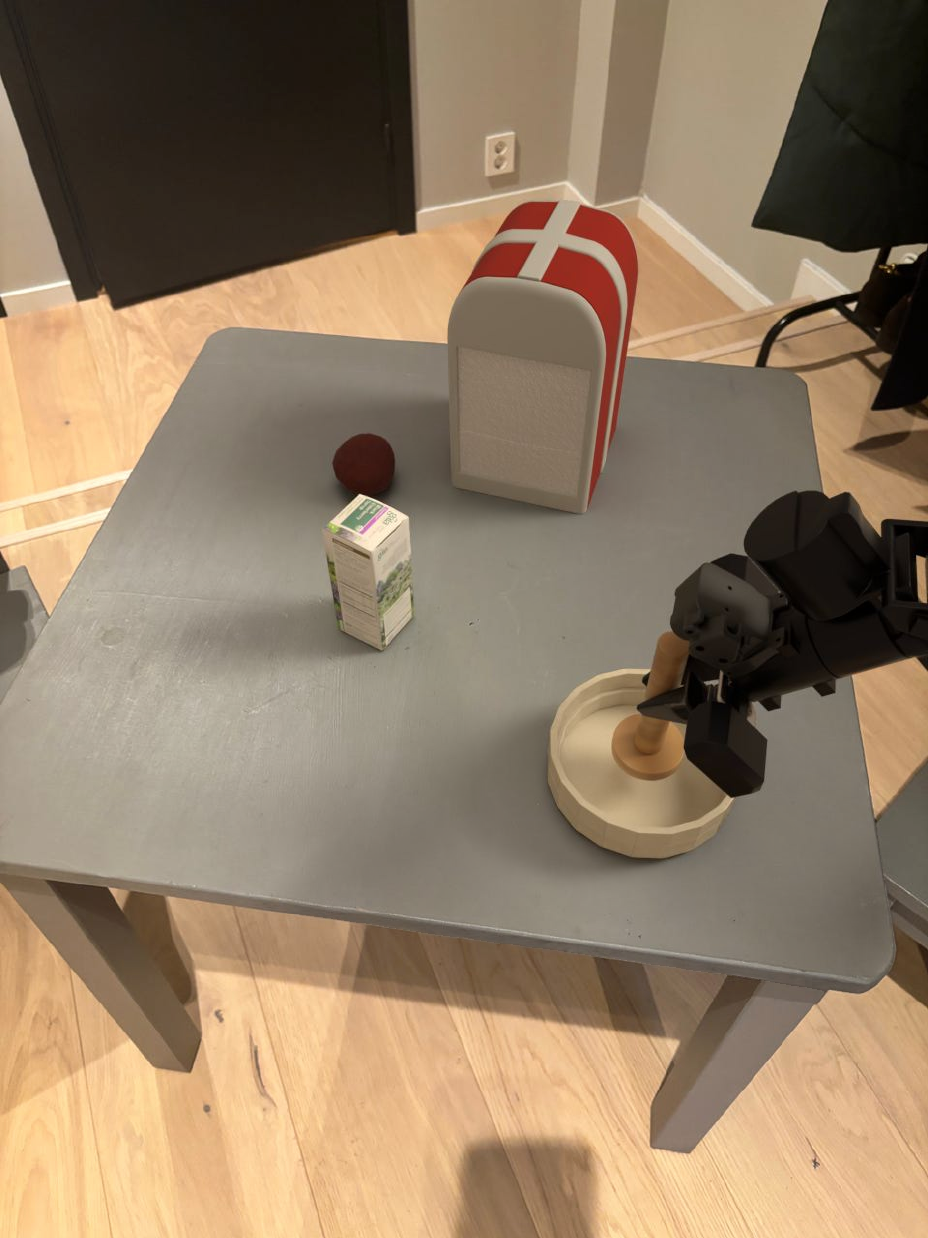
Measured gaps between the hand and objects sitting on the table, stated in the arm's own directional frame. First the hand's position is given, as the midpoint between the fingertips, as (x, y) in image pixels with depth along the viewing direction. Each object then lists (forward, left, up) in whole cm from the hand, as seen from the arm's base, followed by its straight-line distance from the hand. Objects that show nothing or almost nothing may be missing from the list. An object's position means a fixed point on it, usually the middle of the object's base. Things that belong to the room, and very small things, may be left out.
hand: (642, 696), depth 71 cm
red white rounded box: (+21, -39, -12) cm, 46 cm away
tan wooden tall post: (-1, 0, -7) cm, 8 cm away
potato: (+38, -27, -12) cm, 48 cm away
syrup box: (+28, -8, -12) cm, 31 cm away
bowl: (-1, 0, -12) cm, 12 cm away
